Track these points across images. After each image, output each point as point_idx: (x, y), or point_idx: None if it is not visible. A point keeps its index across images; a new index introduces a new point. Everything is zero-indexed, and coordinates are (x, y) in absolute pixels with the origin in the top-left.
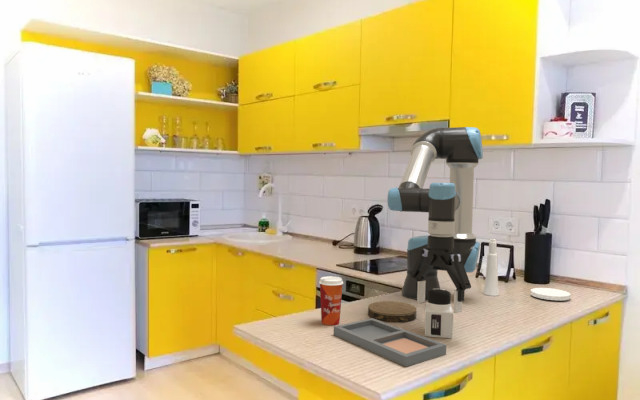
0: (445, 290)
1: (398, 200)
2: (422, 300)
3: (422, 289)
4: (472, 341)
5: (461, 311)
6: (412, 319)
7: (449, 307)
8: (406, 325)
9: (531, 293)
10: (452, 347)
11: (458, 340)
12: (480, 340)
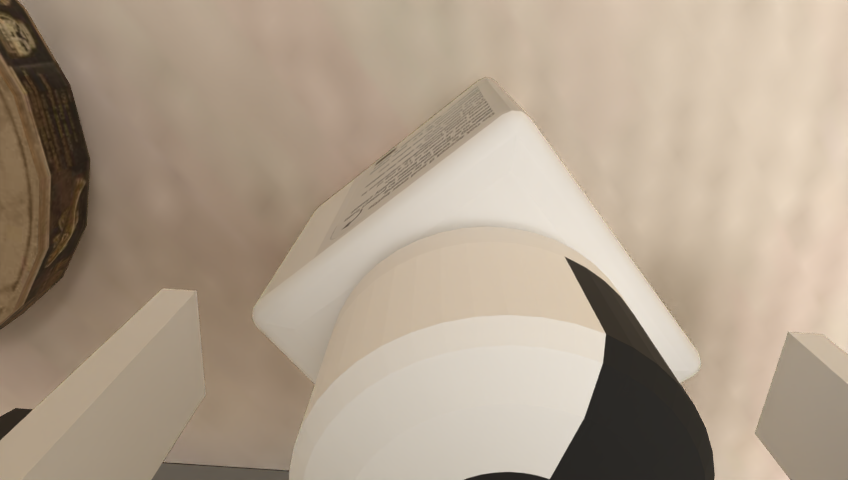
0: (599, 471)
1: None
2: (189, 349)
3: (101, 469)
4: (766, 172)
5: (825, 343)
6: (69, 108)
7: (575, 245)
8: (169, 262)
9: None
10: (701, 386)
11: (667, 239)
12: (813, 94)
